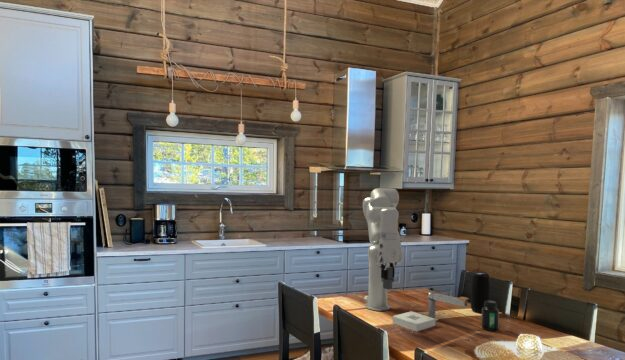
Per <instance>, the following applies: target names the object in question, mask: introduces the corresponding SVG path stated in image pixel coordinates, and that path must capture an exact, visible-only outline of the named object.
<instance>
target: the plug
mask: <svg viewBox="0 0 625 360" xmlns="http://www.w3.org/2000/svg"><path fill="white" fill-rule="evenodd" d="M387 270H388V278H387V279H383V278H381V281H383V288H384V289H387V290H392V289H393V283H394V282H395V277H394V278H393V268H392V267H389V266H387Z"/></svg>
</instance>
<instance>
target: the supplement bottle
mask: <svg viewBox="0 0 625 360" xmlns="http://www.w3.org/2000/svg"><path fill="white" fill-rule="evenodd" d="M497 304H498V303H497V302H496V300H495V301H494V300H490V299H489V300H485V304H484V305H485V306H484V307H483V308H482V312H481V328H482V330H484V331H487V332H498V331H499V327H500V326H499V324H500V311H499V309H498V308H497V307H498V305H497Z"/></svg>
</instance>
